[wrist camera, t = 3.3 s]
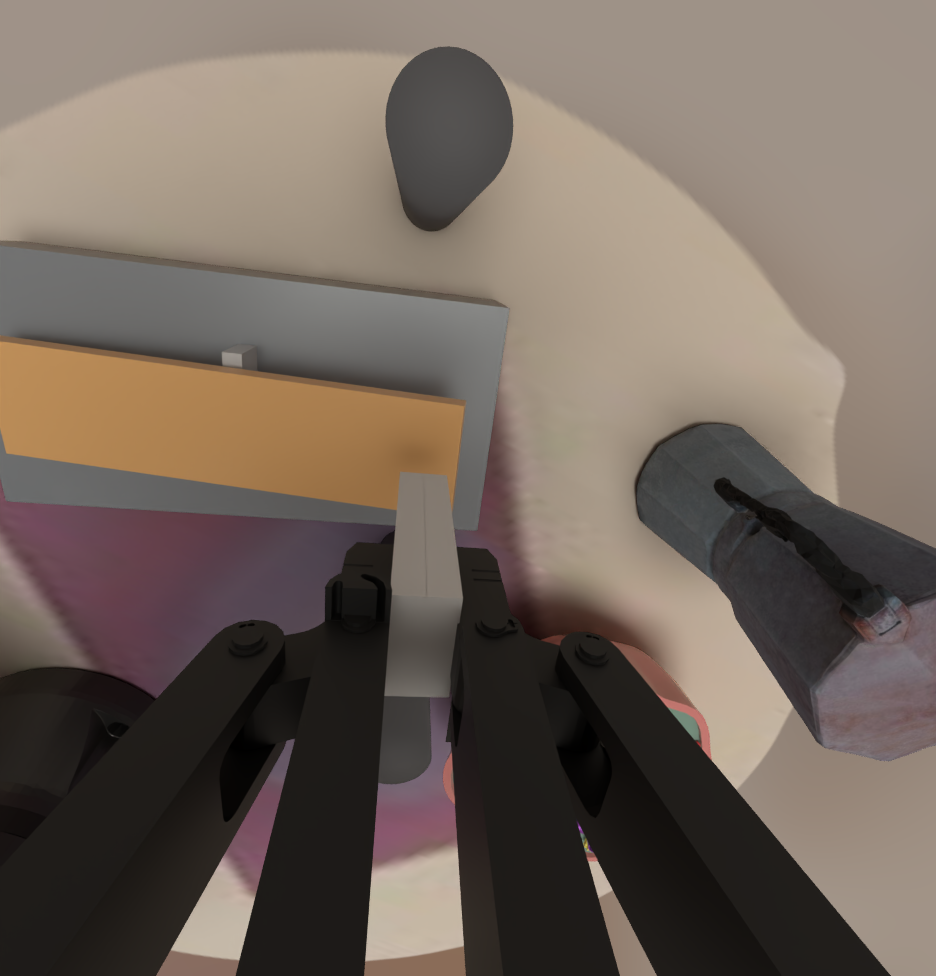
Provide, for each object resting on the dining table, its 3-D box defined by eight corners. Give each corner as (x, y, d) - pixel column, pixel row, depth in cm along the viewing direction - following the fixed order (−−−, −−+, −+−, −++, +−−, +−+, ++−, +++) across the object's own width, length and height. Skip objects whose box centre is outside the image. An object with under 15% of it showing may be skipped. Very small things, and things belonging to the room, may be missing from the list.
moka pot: (707, 586, 39) (966, 877, 21) (562, 470, 34) (735, 719, 16) (810, 494, 36) (1208, 733, 18) (670, 354, 31) (1026, 488, 13)
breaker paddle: (25, 446, 24) (6, 453, 23) (0, 335, 22) (-23, 338, 21) (453, 508, 23) (450, 518, 22) (466, 400, 21) (464, 406, 21)
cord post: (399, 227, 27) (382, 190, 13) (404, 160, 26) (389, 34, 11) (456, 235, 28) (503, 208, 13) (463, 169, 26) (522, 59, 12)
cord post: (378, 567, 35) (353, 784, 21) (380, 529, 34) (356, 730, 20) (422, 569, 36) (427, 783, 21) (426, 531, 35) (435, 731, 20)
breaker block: (67, 464, 30) (-30, 522, 24) (22, 241, 26) (-114, 236, 19) (468, 493, 34) (481, 551, 27) (494, 300, 29) (518, 312, 22)
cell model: (525, 794, 46) (557, 946, 36) (395, 654, 39) (387, 798, 28) (696, 707, 44) (782, 845, 34) (593, 540, 36) (664, 652, 26)
